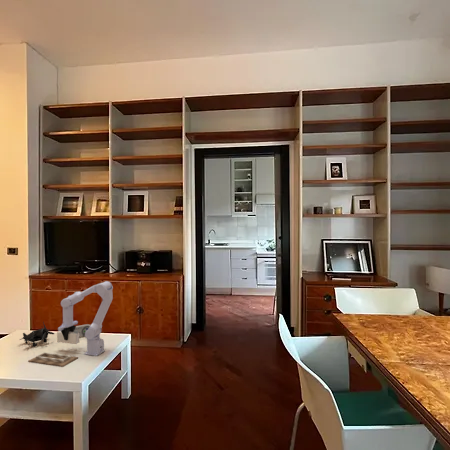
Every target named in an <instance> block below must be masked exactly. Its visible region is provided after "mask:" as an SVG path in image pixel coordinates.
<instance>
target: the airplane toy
mask: <svg viewBox="0 0 450 450" xmlns="http://www.w3.org/2000/svg"><path fill="white" fill-rule="evenodd" d="M42 323H43V325H42V326H41V328H39V329H35V330H32V331H31V332H30V333H29V334H26V333H25V332H23V333H22V336H23V337H21V338H19V341H20V340H23V341H24V343H25V344H27V343H28V342H30V343H32V345H31V346H32V347H33V348H36V347H37V342H39V341H42V342H44V343H46V342H47V341H48V339H47V338H48V337H49V335H55V332H52V331H51V330H50V328H49V329H48V328H47V326H46V325H45V322H44V321H43V322H42Z"/></svg>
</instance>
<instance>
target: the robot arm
mask: <svg viewBox="0 0 450 450" xmlns="http://www.w3.org/2000/svg"><path fill="white" fill-rule="evenodd" d="M113 289H114V287H113V284H112V282H111V281H109V280H108V281H107V280H105V281H104V282H99V283H97V284H94V285H92V286H90V287H89V288H86V289H85V290H83V291H75V292H74V293H73V294H71V295H70V294H69V295H68V296H67V297H66V298H63V299H62V300H61V301H60V306H61V307H62V323H61V325H60V326H59V327H57V332H59V331H61V332H62V334H63V337H64V340H68V334H69V332H74V330H75V328H76V326H77V325H78V323H79V321H78V320H74V305H76V304H77V303H79V302H81V301H83V300H84V298H85V297H87V296H88V295H91V294H92V293H95V294H96V293H97V295H99V296H100V297H101V299H102V301H101V303H100V305H99V307H98V310H97V313H96V314H95V317H94V319H93V321H92V323H91V324H90V325H91V326H90V327H89V329H88V330H87V331H86V332H85V336H84V337H85V339H86V352H84V353H83V354H84V355H89V356H95V357H96V356H97V357H98V356H99V355H101V354H103V353H104V352H105V350H106V349H105V340H104V339H102V338H101V337H100V335H101V333H102V329H103V328H102V327H103V322H104V319H105V317H106V314H107V313H108V310H109V308H110V305H111V304H112V301H113V299H114V297H113V294H114V293H113Z"/></svg>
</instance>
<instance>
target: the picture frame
mask: <svg viewBox="0 0 450 450" xmlns="http://www.w3.org/2000/svg"><path fill="white" fill-rule="evenodd" d="M77 359H79V357H78V356H74V355H68V354H61V353H60V354H59V353H51V352H43V353H41V354H38V355H36V356H35V357H33V358H31V359H29V360H28V361H27V362H28V363H33V364H41V365H46V366H47V365H48V366H54V367H59V368H61V367H62V368H64V367H66V366H67V365H69V364H71V363H73V362H74V361H76V360H77Z"/></svg>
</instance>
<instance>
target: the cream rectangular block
mask: <svg viewBox="0 0 450 450" xmlns="http://www.w3.org/2000/svg"><path fill="white" fill-rule="evenodd" d="M56 342H57V343H62V344H63V343H65V344H71V345H77V344H79V343H80V337H79V333H78V331H76V330H74V332H69V334H68V340H64V337H63V334H62V332H61V331H57V332H56Z"/></svg>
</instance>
